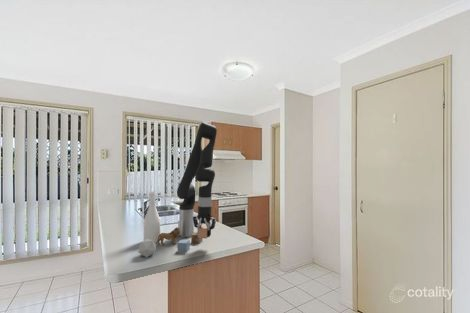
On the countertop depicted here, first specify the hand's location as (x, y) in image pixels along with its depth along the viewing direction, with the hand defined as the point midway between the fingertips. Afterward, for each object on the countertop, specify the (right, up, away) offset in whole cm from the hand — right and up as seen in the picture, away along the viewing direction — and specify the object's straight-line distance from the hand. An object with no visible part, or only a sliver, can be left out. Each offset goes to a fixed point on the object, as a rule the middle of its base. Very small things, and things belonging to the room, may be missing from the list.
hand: (204, 235), depth 132 cm
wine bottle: (-33, -8, +12) cm, 36 cm away
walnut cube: (-6, -7, +11) cm, 14 cm away
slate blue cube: (-11, -7, -3) cm, 13 cm away
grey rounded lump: (-28, -7, -10) cm, 30 cm away
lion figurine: (-22, -7, +8) cm, 24 cm away
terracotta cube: (0, 0, 0) cm, 1 cm away
